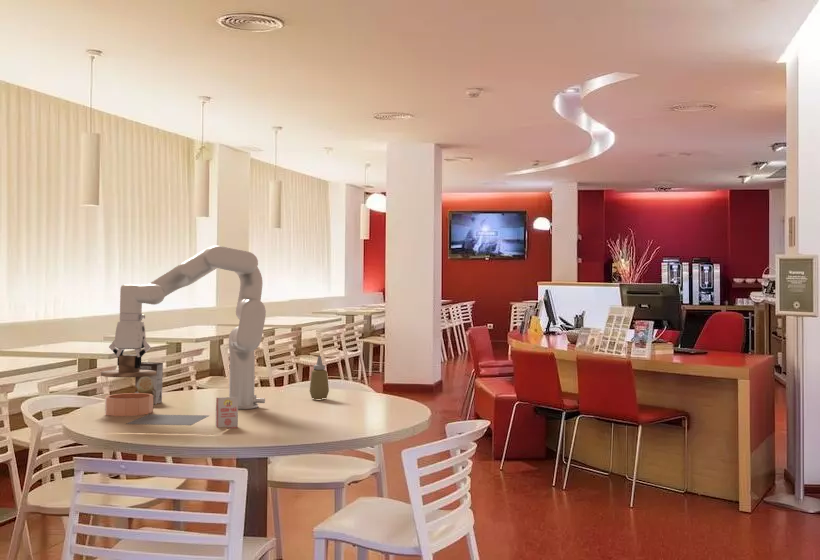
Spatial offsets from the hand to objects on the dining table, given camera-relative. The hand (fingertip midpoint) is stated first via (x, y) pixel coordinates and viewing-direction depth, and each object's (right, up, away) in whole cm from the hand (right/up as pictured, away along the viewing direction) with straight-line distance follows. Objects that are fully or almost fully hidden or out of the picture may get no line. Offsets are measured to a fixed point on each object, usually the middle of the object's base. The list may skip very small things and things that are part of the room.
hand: (129, 367), depth 280 cm
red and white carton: (+42, -17, -26) cm, 52 cm away
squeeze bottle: (+64, -18, +42) cm, 79 cm away
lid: (0, -3, 0) cm, 3 cm away
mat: (+19, -17, -15) cm, 30 cm away
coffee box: (-3, -18, +28) cm, 33 cm away
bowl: (0, -17, 0) cm, 17 cm away
